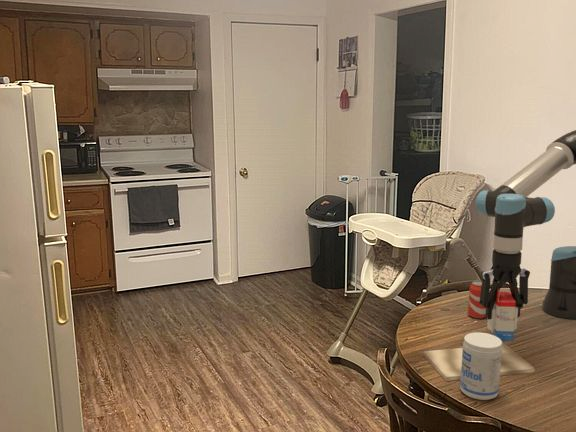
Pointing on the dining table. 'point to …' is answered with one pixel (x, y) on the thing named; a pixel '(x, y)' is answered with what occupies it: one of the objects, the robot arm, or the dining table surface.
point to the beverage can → (475, 301)
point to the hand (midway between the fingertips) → (501, 328)
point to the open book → (451, 362)
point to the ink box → (504, 316)
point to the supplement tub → (481, 365)
